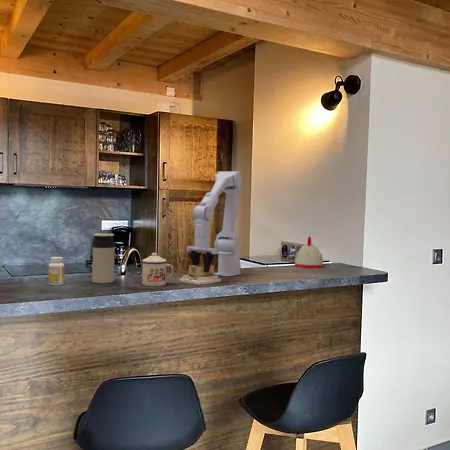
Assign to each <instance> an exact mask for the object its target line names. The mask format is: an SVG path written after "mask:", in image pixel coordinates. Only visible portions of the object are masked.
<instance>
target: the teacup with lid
mask: <svg viewBox="0 0 450 450" xmlns="http://www.w3.org/2000/svg"><path fill="white" fill-rule="evenodd" d="M141 263H142V273H141V275H142V277H141V281H142V282H141V284H142V285H143V286H145V287H163V286H165V285H166V284H167V278H170V277H171V276H172V275H173V273H174V266H173V265H172V264H169V263H168V262H167V259H165V258H162V257H161V256H160V255H158V253H157V252H152V253H151V255H150V256H148V257H146V258H143V259H142V260H141ZM167 267H169V268H170V272H169V274H167Z"/></svg>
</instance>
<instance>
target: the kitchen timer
mask: <svg viewBox="0 0 450 450" xmlns="http://www.w3.org/2000/svg"><path fill="white" fill-rule="evenodd" d="M294 261H295V262H294V267H296V268H301V269H322V267H324V262H323V253H321V252H320V250H319V248H318V247H317V246H316V245H315V244H314V243H312V237H311V236H308V237H307V243H305V244H303V245H302V246H301V248H299V250H298V252H296V253H295V259H294Z"/></svg>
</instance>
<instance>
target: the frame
mask: <svg viewBox="0 0 450 450" xmlns="http://www.w3.org/2000/svg"><path fill="white" fill-rule="evenodd" d="M214 273H215V265H212V264H211V266H210V270H209V272H204V263H203V264H199V265H194V266H193V265H188V275H189V276H190V277H195V278H200V277H207V276H214V275H215V274H214Z"/></svg>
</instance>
